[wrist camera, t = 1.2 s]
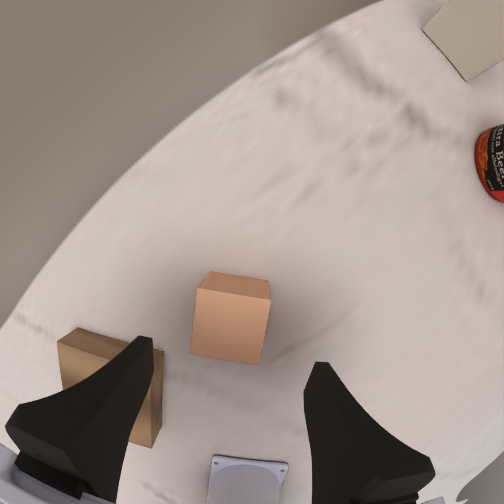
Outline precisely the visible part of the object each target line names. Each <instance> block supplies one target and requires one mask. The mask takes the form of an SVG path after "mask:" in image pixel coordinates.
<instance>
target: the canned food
mask: <svg viewBox="0 0 504 504" xmlns="http://www.w3.org/2000/svg"><path fill="white" fill-rule="evenodd" d="M475 157H476V165H477V170H478V173H479V176H480V179H481V181H482V183H483V185H484V187H485V188H486V190H487V191H488V193H489V194H490V195H491V196H492V197H494V198H495V199H497V200H499V201H501V202H503V203H504V124H502V125H499V126H496V127H493V128H490V129H488V130H486V131H485V132H484V133H483V134H482V135H481V136H480V138H479V139H478V142H477V145H476V153H475Z"/></svg>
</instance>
